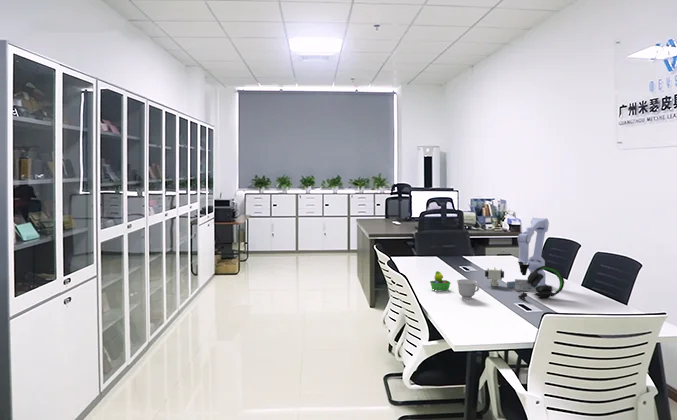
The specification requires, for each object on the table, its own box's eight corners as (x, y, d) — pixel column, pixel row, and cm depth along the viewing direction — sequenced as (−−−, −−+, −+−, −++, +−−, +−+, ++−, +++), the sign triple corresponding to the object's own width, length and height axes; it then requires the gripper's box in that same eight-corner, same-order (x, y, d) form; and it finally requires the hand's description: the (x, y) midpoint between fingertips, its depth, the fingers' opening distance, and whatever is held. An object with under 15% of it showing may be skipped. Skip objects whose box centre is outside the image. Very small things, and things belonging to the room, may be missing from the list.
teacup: (471, 302, 276) (471, 285, 275) (452, 297, 288) (452, 280, 288) (485, 299, 282) (485, 283, 281) (466, 294, 295) (466, 278, 294)
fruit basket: (434, 291, 303) (434, 273, 302) (428, 288, 312) (428, 271, 311) (451, 290, 305) (451, 272, 304) (445, 287, 314) (445, 270, 313)
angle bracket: (531, 289, 307) (531, 279, 306) (532, 291, 301) (533, 281, 301) (514, 288, 309) (514, 279, 309) (515, 290, 303) (515, 281, 303)
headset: (526, 312, 286) (567, 288, 289) (532, 308, 274) (574, 283, 276) (507, 286, 293) (548, 262, 295) (513, 281, 280) (554, 256, 283)
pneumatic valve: (503, 287, 314) (504, 268, 313) (484, 285, 317) (485, 267, 316) (503, 285, 319) (504, 267, 318) (485, 284, 323) (485, 266, 322)
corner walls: (524, 285, 318) (524, 280, 318) (540, 290, 304) (541, 285, 304) (506, 287, 314) (506, 281, 314) (522, 292, 300) (522, 286, 299)
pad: (523, 286, 315) (523, 286, 315) (536, 290, 303) (536, 290, 303) (509, 287, 311) (509, 287, 311) (522, 292, 300) (522, 291, 300)
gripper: (532, 254, 298) (531, 276, 299) (528, 251, 312) (528, 271, 313) (519, 254, 300) (519, 276, 301) (517, 250, 314) (516, 271, 315)
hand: (523, 273), depth 307 cm, fingers open, 7 cm apart
